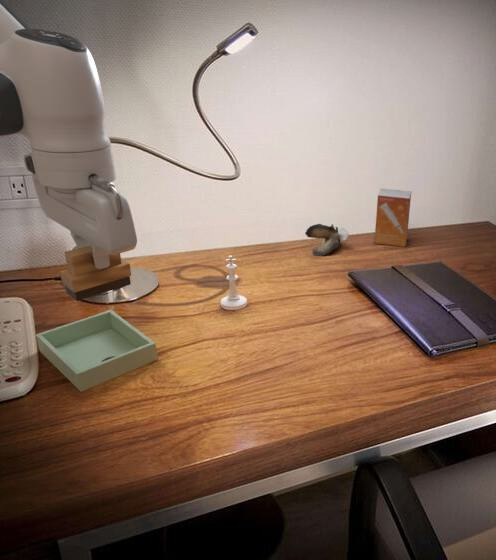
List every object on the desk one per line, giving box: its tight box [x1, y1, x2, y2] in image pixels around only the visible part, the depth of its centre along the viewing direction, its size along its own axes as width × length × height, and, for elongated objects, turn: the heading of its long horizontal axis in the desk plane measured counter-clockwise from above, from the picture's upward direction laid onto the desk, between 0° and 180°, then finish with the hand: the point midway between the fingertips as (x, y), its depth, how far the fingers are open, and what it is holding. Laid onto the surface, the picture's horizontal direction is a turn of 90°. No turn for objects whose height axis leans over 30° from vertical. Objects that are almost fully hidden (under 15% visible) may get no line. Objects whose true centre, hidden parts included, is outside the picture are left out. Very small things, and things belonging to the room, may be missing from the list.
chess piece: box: [220, 255, 248, 311], centre depth 98 cm, size 5×5×10 cm
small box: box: [374, 188, 412, 248], centre depth 133 cm, size 8×6×13 cm
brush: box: [59, 246, 132, 302], centre depth 75 cm, size 8×4×6 cm, turn 143°
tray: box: [35, 309, 159, 393], centre depth 81 cm, size 14×11×4 cm
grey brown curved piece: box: [304, 223, 349, 256], centre depth 127 cm, size 8×7×9 cm
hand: (95, 262), depth 75 cm, fingers closed on brush, 2 cm apart
